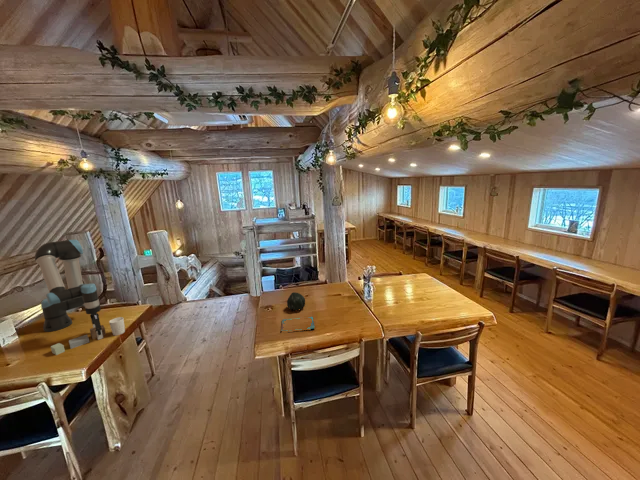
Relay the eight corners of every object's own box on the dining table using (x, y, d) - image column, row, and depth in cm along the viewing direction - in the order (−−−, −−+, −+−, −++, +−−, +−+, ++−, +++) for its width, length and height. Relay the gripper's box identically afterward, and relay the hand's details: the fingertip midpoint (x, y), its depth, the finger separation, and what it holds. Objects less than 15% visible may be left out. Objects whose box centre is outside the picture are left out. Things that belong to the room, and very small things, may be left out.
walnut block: (91, 336, 176) (89, 328, 175) (104, 332, 181) (102, 324, 180) (92, 339, 172) (91, 331, 171) (106, 335, 178) (104, 327, 176)
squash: (310, 299, 211) (298, 286, 211) (305, 307, 197) (292, 293, 196) (299, 308, 215) (286, 295, 215) (293, 318, 201) (280, 304, 201)
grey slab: (69, 345, 167) (68, 340, 166) (88, 339, 174) (87, 334, 173) (70, 349, 162) (69, 344, 162) (89, 342, 169) (88, 338, 168)
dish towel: (315, 331, 173) (315, 327, 173) (280, 334, 171) (280, 330, 171) (313, 318, 190) (313, 315, 190) (281, 321, 188) (281, 318, 188)
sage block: (52, 353, 159) (50, 346, 158) (60, 349, 162) (59, 342, 162) (56, 355, 156) (54, 348, 155) (65, 351, 160) (63, 345, 159)
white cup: (124, 328, 185) (121, 316, 183) (127, 332, 180) (124, 319, 178) (110, 333, 179) (107, 320, 177) (113, 337, 174) (110, 323, 172)
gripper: (82, 303, 178) (88, 332, 182) (88, 313, 162) (94, 344, 166) (96, 300, 183) (102, 327, 187) (103, 309, 168) (109, 339, 172)
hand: (98, 335), depth 177 cm, fingers open, 12 cm apart
